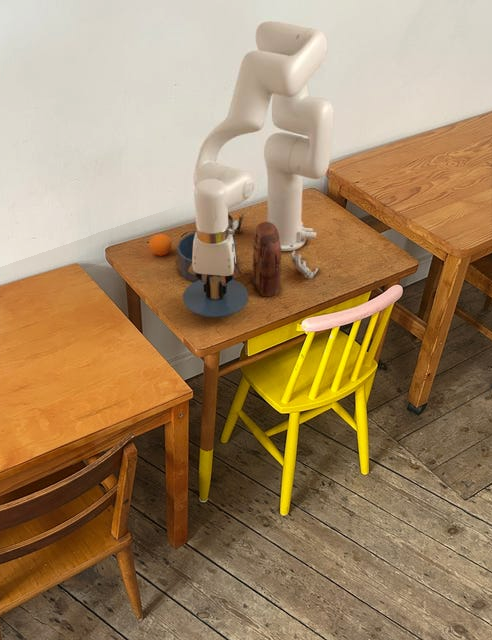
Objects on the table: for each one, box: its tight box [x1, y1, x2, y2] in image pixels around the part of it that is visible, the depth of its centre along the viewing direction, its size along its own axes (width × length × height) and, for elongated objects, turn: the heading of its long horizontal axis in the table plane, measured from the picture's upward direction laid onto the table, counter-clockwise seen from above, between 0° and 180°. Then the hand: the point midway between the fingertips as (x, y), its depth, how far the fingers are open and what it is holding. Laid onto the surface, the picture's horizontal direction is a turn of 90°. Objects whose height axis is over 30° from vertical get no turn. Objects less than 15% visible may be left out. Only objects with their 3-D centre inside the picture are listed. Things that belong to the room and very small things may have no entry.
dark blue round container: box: [176, 231, 238, 283], centre depth 200 cm, size 16×16×6 cm
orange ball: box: [149, 233, 172, 257], centre depth 204 cm, size 6×6×6 cm
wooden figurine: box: [252, 221, 282, 297], centre depth 189 cm, size 12×6×18 cm, turn 16°
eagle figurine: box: [228, 212, 245, 234], centre depth 213 cm, size 8×7×9 cm
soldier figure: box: [289, 249, 319, 282], centre depth 198 cm, size 8×5×12 cm
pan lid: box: [182, 276, 249, 319], centre depth 184 cm, size 16×16×6 cm
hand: (215, 294), depth 185 cm, fingers closed on pan lid, 2 cm apart
